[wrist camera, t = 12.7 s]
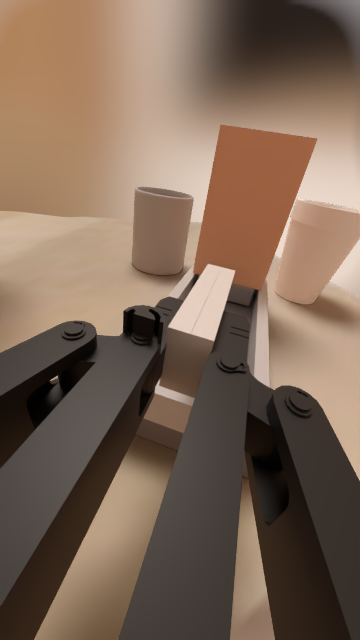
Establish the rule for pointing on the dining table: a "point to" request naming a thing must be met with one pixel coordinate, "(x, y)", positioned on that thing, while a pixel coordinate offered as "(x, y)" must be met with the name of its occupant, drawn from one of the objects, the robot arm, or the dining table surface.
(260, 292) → the shallow rimmed tray
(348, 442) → the dining table surface
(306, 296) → the foam cup
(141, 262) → the mug
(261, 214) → the large orange block
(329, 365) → the dining table surface
